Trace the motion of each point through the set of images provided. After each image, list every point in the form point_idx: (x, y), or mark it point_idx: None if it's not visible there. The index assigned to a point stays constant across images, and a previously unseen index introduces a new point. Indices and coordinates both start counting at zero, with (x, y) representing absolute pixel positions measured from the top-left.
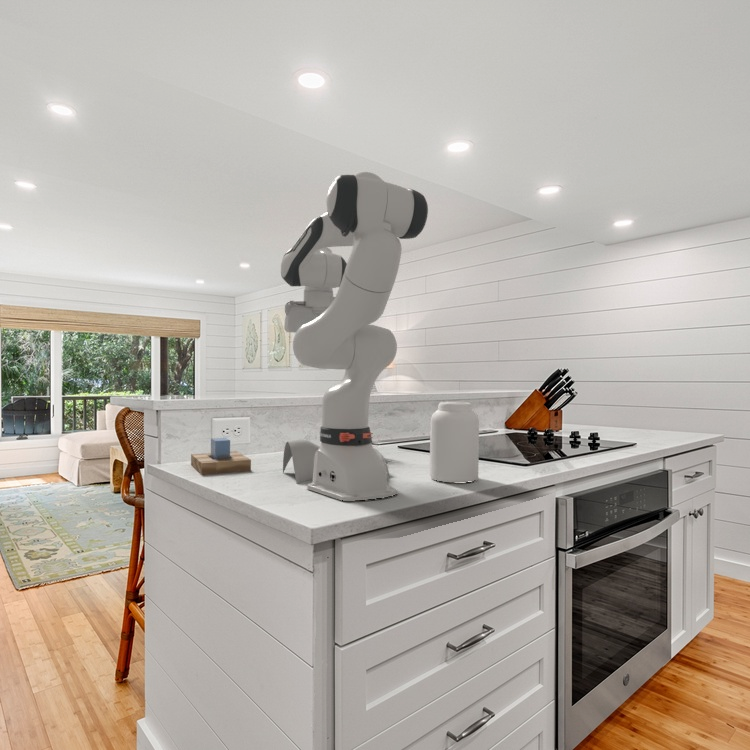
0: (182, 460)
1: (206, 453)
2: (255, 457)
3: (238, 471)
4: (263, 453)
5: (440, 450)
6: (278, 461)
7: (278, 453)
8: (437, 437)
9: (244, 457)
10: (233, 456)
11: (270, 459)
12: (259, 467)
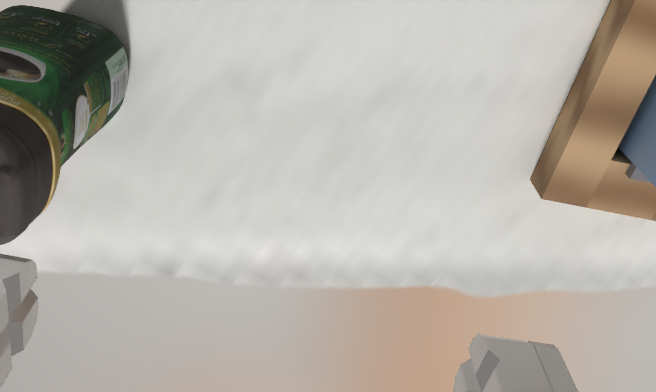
0: (640, 284)
1: (649, 213)
2: (430, 209)
3: None
4: (359, 261)
5: None
6: (415, 90)
7: (314, 234)
8: None
9: (619, 54)
10: (631, 101)
11: (413, 145)
12: (550, 21)
